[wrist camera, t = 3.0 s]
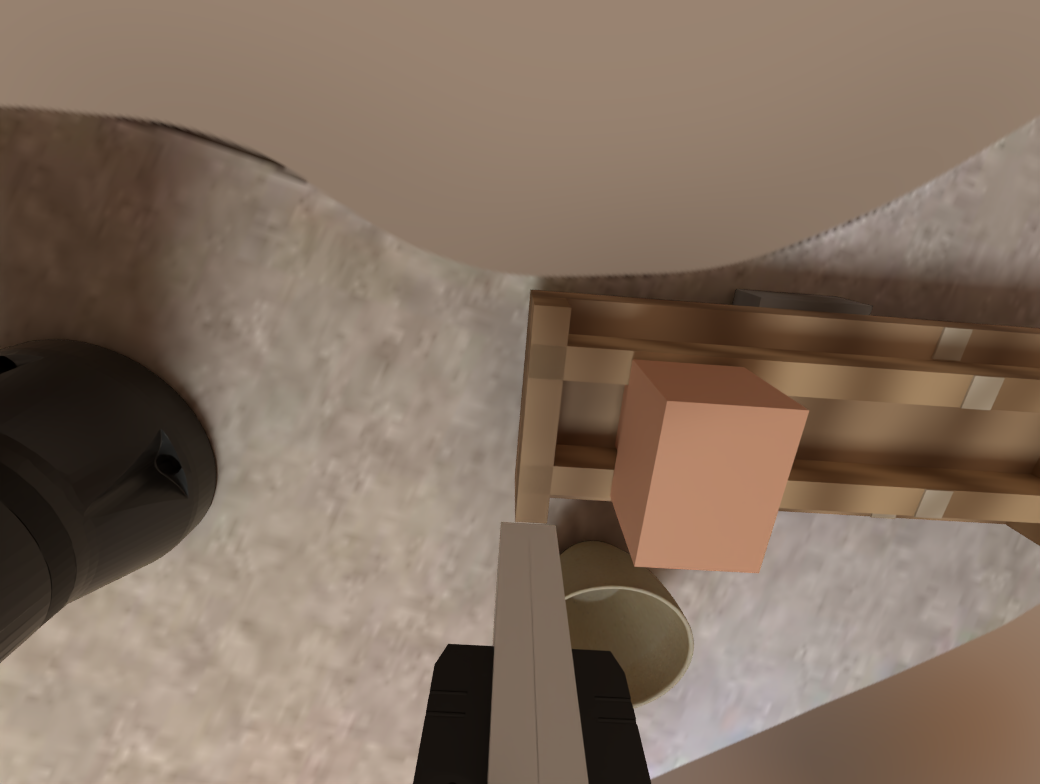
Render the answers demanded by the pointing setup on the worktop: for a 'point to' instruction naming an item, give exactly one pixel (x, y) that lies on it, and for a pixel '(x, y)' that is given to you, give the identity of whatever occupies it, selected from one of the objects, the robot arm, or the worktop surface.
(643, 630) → the flower pot
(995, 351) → the wooden crate
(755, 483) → the block
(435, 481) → the worktop surface
